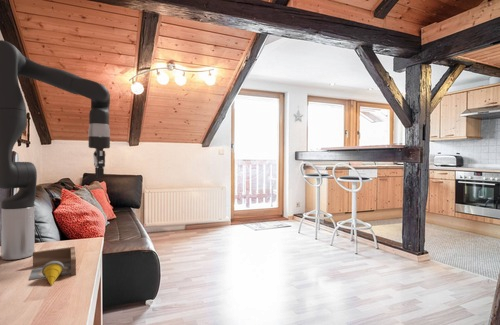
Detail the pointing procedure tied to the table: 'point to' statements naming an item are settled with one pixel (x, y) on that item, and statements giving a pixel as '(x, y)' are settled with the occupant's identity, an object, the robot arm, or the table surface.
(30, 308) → the table surface
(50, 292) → the table surface
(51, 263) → the drill bit
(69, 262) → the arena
